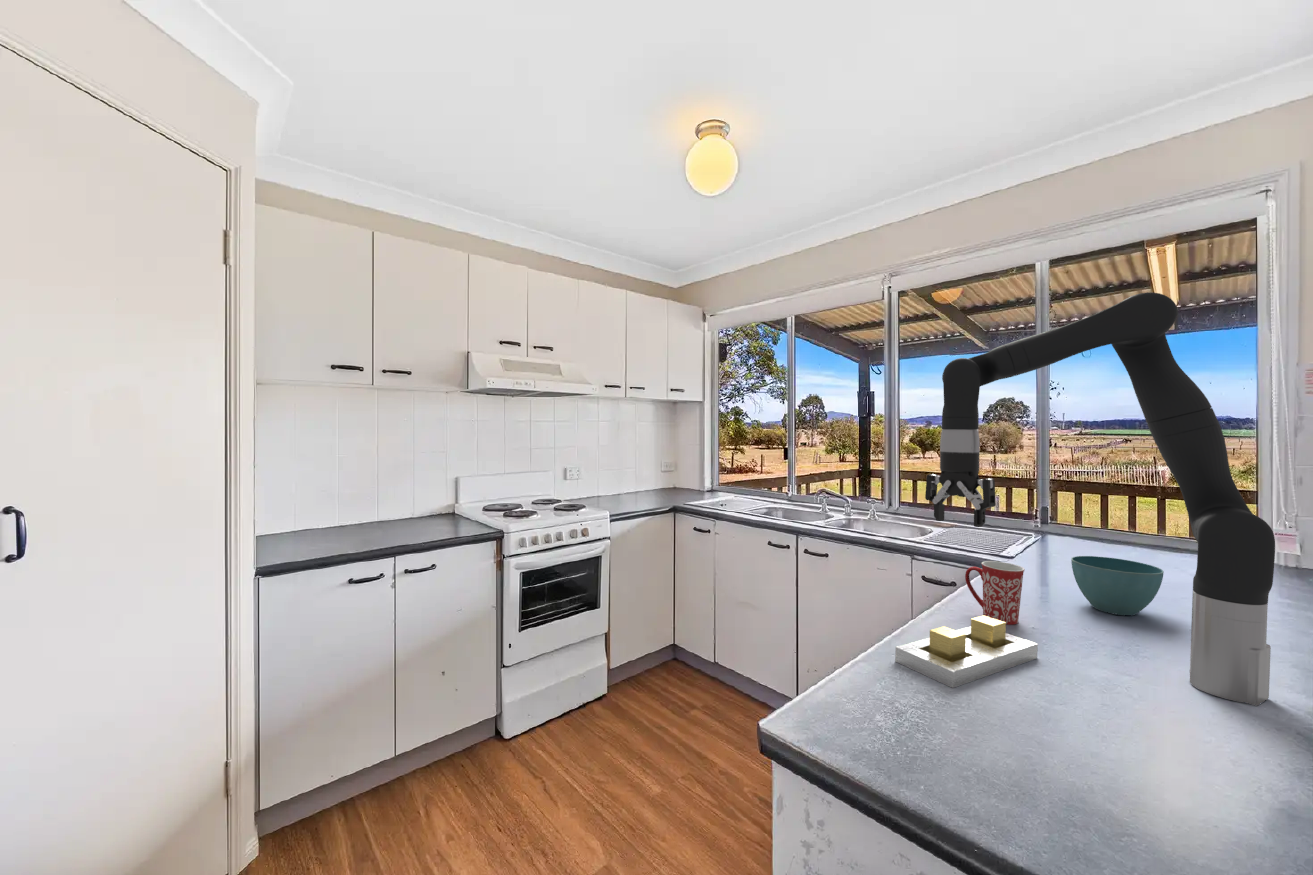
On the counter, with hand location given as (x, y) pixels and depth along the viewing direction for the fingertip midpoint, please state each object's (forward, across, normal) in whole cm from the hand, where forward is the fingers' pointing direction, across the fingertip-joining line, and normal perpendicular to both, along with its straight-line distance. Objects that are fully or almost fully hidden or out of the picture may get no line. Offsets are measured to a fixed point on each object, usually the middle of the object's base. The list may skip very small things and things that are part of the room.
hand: (958, 523), depth 117 cm
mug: (+26, +4, -23) cm, 35 cm away
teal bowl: (+27, -8, -57) cm, 64 cm away
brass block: (+26, -7, +14) cm, 31 cm away
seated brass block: (+26, -7, +1) cm, 27 cm away
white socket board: (+26, -7, +8) cm, 28 cm away
